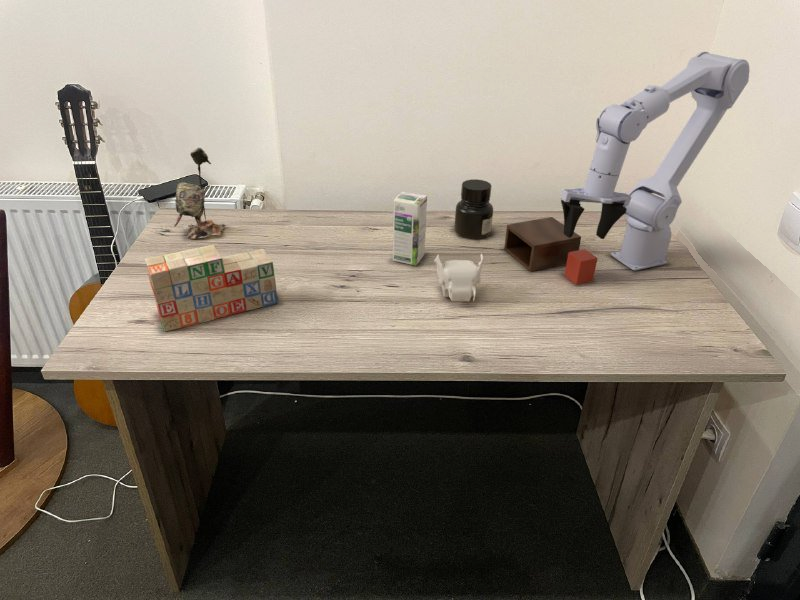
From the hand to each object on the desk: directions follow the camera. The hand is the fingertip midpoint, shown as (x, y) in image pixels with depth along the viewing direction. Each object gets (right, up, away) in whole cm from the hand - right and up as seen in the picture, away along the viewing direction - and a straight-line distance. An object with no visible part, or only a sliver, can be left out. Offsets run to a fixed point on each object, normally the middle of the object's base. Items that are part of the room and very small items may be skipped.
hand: (583, 236), depth 121 cm
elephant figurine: (-26, -12, -1) cm, 28 cm away
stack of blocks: (-72, -15, -7) cm, 74 cm away
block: (+1, -8, +5) cm, 10 cm away
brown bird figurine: (-84, +3, +21) cm, 87 cm away
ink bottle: (-20, +3, +24) cm, 31 cm away
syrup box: (-35, -4, +12) cm, 37 cm away
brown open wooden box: (-6, -3, +14) cm, 15 cm away
